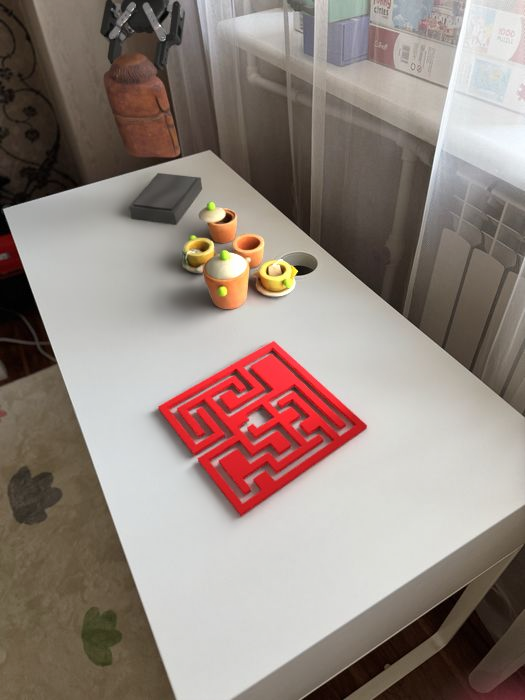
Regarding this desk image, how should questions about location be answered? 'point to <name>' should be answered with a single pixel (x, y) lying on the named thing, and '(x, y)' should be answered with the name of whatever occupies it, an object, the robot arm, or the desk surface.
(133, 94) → the wooden figurine
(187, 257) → the toy tea set
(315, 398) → the maze puzzle
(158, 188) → the block
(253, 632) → the desk surface
